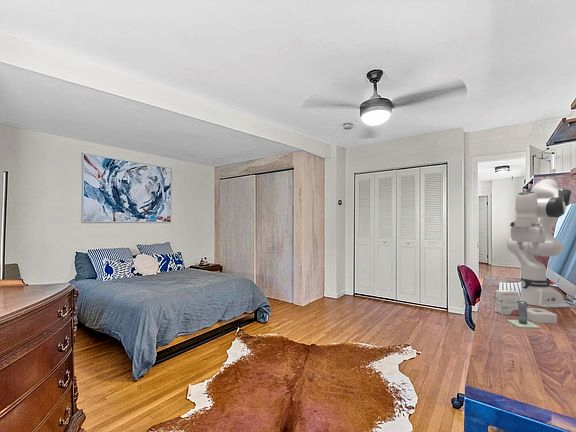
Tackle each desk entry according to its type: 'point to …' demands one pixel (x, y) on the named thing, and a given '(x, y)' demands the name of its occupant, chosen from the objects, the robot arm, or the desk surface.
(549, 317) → the white square frame block
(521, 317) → the plug
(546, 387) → the desk surface
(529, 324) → the mat
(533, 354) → the desk surface
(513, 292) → the ink box
